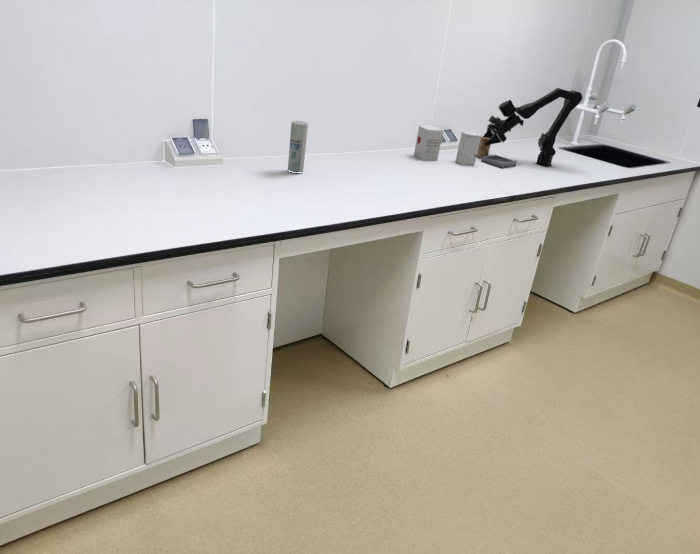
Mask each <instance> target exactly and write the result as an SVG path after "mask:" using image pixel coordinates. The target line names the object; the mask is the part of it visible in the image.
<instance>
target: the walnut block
mask: <svg viewBox="0 0 700 554" xmlns="http://www.w3.org/2000/svg"><path fill="white" fill-rule="evenodd" d="M489 139H490V138H486V137H483V136H481V140H480V144H479V148H478V152H477V156H476V159H482V157H484V156H489V154H490V148H491V145H487V146H486V145H485V143H486V142H487V141H488V140H489Z"/></svg>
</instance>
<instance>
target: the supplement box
mask: <svg viewBox="0 0 700 554" xmlns="http://www.w3.org/2000/svg"><path fill="white" fill-rule="evenodd" d="M443 134H444V129H441V128H439V127H437V126H435V125H423V124H422V125H419V126H418V130H417V135H416V139H415V140H416V141H415V146H414V153H413V156H414V157H416V158H418V159H419V160H422V161H438V159H439V154H440V149H441V144H442V139H443Z"/></svg>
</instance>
